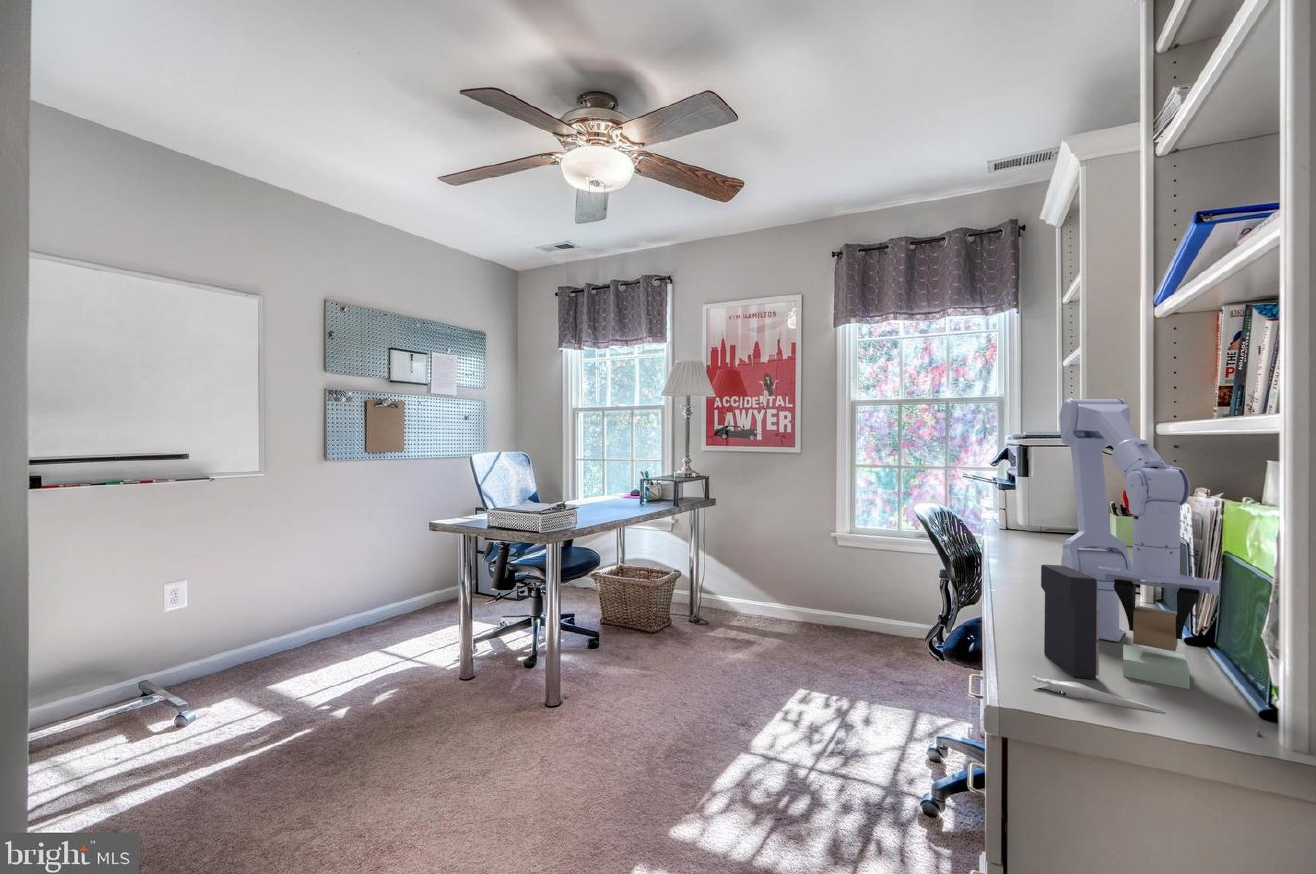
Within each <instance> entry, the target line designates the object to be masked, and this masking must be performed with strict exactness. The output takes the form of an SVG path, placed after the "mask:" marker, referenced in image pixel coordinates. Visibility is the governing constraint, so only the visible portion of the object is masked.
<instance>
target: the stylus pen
mask: <svg viewBox="0 0 1316 874" xmlns="http://www.w3.org/2000/svg"><path fill="white" fill-rule="evenodd" d="M1031 679H1032V680H1033V681H1035V682H1037V683H1042V684H1041V685H1039V686H1040V687H1039V688H1041V689H1040V690H1042V689H1043V690H1045V689H1046V690H1048V691H1051V692H1054V693H1056V692H1057V694H1059V693H1060V694H1059V695H1062V694H1061V691H1062V692H1064V693H1065V695H1064V696H1066V695H1068V696H1067V697H1070V696H1071V698H1074V697H1076V698H1075V699H1079V698H1081V699H1082V700H1089V699H1091V700H1090V701H1094V700H1095V702H1098V701H1099V703H1103V704H1104V703H1105V704H1109V705H1116V706H1122V707H1126V708H1132V709H1138V710H1144V711H1145V710H1146V711H1148V712H1149V711H1151V712H1155V713H1156V712H1157V713H1161V714H1166V713H1167V711H1165V710H1163V709H1161V708H1158V707H1155V706H1151V705H1149V704H1146V703H1143V702H1141V701H1140V702H1139V701H1136V700H1132V699H1129V698H1125V697H1122V696H1118V695H1114V694H1111V693H1108V692H1105V691H1101V690H1098V689H1095V688H1092V687H1090V686H1087V685H1086V684H1083V683H1080V682H1076V681H1070V680H1069V681H1066V680H1065V681H1064V680H1056V679H1051V678H1041V677H1037V676H1036V675H1033V676H1032V677H1031ZM1036 689H1038V687H1037V688H1036ZM1081 699H1080V700H1081Z"/></svg>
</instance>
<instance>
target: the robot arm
mask: <svg viewBox="0 0 1316 874" xmlns="http://www.w3.org/2000/svg"><path fill="white" fill-rule="evenodd" d="M1058 416H1059V419H1058V420H1059V428H1060V429H1059V430H1060V438H1061V442H1062V443H1063V444H1064V445H1066V446H1067V447H1069V448H1070V454H1071V460H1072V462H1071V463H1072V474H1073V482H1074V483H1073V485H1074V495H1075V497H1074V498H1075V507H1076V518H1077V519H1076V520H1077V528H1078V529H1077V530H1078V532H1076V533H1075V534H1074V535H1072V536H1071V537H1069V538H1068V539H1066V540H1065V541H1064V542H1063V544H1062V556H1061V561H1060V563H1061V564H1060V565H1061V566H1067V567H1069V568H1072V569H1074V570H1076V571H1079V572H1081V573H1084V574H1086V575H1089V576H1091V577H1094V578H1095V579H1096V580H1097V582H1098V605H1097V608H1098V609H1099V640H1105V641H1111V642H1117V643H1119V642H1120V641H1121V639H1122V638H1123V636H1124V635H1125V633H1126V629H1125V628H1120V603H1121V606H1122V607H1123V610H1124V613H1125V616H1126V619H1127V622H1128V629H1129V631H1130V632H1133V611H1134V610H1135V608H1136V601H1137V600H1136V599H1137V598H1136V596H1137V595H1136V594H1137V585H1140V586H1141V585H1142V586H1149V587H1156V588H1163V589H1164V588H1165V589H1172V590H1177V592H1176V612H1177V623H1176V639H1178V640H1182V639H1183V633H1184V632H1183V631H1184V627H1185V625H1186V622H1187V620H1188V617H1189V615H1190V613H1191V611H1192V610H1193V608H1194V607H1195V605H1196V603H1198V600H1199V598H1200V596H1201V595H1200V593H1202V594H1209V595H1210V596H1218V597H1219V596H1220V581H1219V580H1216V579H1209V578H1201V577H1195V576H1189V575H1184V574H1181V567H1180V565H1181V506H1183V505H1185V503H1187V501H1188V500H1189V497H1190V492H1191V484H1190V480H1189V476H1188V474H1186V471H1185V469H1183V468H1181V467H1174V465H1168V464H1166V461H1164V459H1163V458H1162V457H1161V456H1160V454H1159V453H1158V451H1157V450H1156V449H1155V448H1154V447H1153V445H1152V444H1151V443H1150V442H1149V441H1147V440H1146V439H1141V438H1138V437H1137V435H1136V433H1135V432H1134V431H1133V429H1132V427H1131V424H1130V421H1131V420H1130V419H1131V408H1130V406H1129V404H1128V402H1127V401H1126V400H1125V399H1123V398H1116V399H1115V398H1114V399H1107V398H1106V399H1105V398H1103V399H1102V398H1097V399H1096V398H1093V399H1091V398H1090V399H1088V398H1087V399H1085V398H1083V399H1081V398H1077V399H1075V398H1071V397H1070V398H1067V399H1066V400H1065V401H1063V403H1062V405H1061V407H1060V412H1059V415H1058ZM1110 446H1111V447H1112V449H1113V450H1112V453H1111V458H1112V461H1113V462H1114V464H1115V466H1116V467H1117V469H1118V470H1119V471H1120V473H1121V474H1122V476H1123V477H1124V479H1125V484H1124V487H1125V489H1124V490H1125V494H1126V497H1127V499H1128V511H1129V514H1131V515H1132V560H1131V558H1130V556H1129V555H1130V554H1129V552H1128V547H1127V543H1125V542H1123V541H1122V540H1121V539H1119V538H1118V537H1116V536H1115V535H1114V534H1112V533H1111V527H1110V519H1109V518H1110V517H1109V509H1108V500H1107V499H1108V498H1107V490H1106V479H1105V470H1104V469H1105V468H1104V459H1103V451H1104V449H1105V448H1107V447H1110Z"/></svg>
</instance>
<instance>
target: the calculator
mask: <svg viewBox="0 0 1316 874" xmlns="http://www.w3.org/2000/svg"><path fill="white" fill-rule="evenodd" d="M1040 566H1041V567H1040V586H1041V588H1042V590H1043V592H1044V635H1043V636H1044V639H1043V641H1044V642H1043V643H1044V645H1043V646H1044V647H1043V650H1044V651H1043V652H1044V656H1046V657H1047V658H1048V659H1050V661H1052V662H1053V663H1055V664H1056V665H1057V666H1059V667H1060V668H1061V669H1062V670H1064V672H1066V673H1067V674H1069V675H1070V676H1071V677H1073V678H1075V679H1085V680H1086V679H1089V680H1095V679H1096V678H1097V676H1099V674H1100V673H1099V671H1100V668H1099V667H1100V656H1099V655H1100V645H1099V644H1098V642H1097V641H1099V640H1100V639H1099V609H1098V608H1097V605H1098V582H1097V580H1096V579H1095V578H1094V577H1091V576H1089V575H1086V574H1084V573H1081V572H1079V571H1076V570H1074V569H1072V568H1069V567H1067V566H1061V564H1060V565H1059V564H1057V565H1056V564H1042V565H1040Z"/></svg>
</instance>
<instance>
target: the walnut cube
mask: <svg viewBox="0 0 1316 874" xmlns="http://www.w3.org/2000/svg"><path fill="white" fill-rule="evenodd" d="M1176 623H1177V610H1176V611H1175V610H1168V609H1162V608H1155V607H1150V606H1149V607H1147V606H1142V605H1136V606H1135V610H1134V611H1133V631H1132V634H1133V635H1132V636H1133V637H1132V644H1133V645H1138V646H1143V647H1149V648H1152V649H1153V648H1154V649H1158V650H1159V649H1160V650H1163V651H1165V650H1166V651H1168V652H1176V649H1177V647H1178V644H1179V643H1178V640H1179V639H1176Z"/></svg>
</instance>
